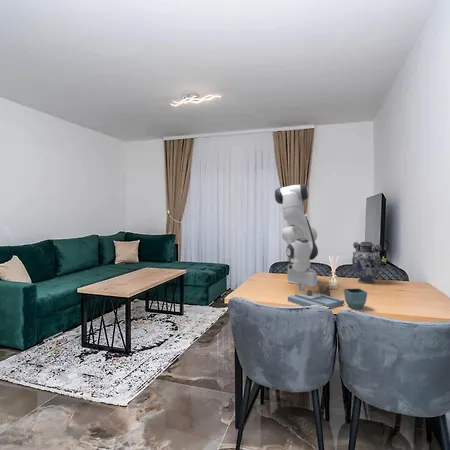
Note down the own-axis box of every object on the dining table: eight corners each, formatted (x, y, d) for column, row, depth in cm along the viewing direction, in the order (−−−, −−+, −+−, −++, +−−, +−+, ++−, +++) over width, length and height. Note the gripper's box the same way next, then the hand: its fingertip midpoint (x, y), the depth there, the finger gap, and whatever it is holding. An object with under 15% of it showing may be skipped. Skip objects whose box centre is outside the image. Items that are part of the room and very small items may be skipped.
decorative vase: (388, 282, 226) (388, 242, 225) (373, 286, 216) (373, 244, 214) (360, 277, 244) (360, 240, 242) (345, 281, 234) (345, 242, 232)
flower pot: (343, 305, 175) (343, 288, 174) (358, 304, 175) (359, 288, 175) (350, 310, 166) (351, 292, 166) (367, 309, 167) (367, 292, 166)
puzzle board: (312, 295, 193) (312, 290, 193) (343, 304, 175) (344, 298, 175) (287, 301, 182) (287, 295, 182) (318, 311, 164) (318, 304, 164)
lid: (309, 293, 188) (309, 287, 188) (321, 296, 181) (321, 291, 181) (298, 295, 183) (298, 290, 183) (310, 299, 176) (310, 293, 176)
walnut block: (323, 295, 195) (324, 285, 195) (330, 296, 191) (330, 286, 191) (318, 296, 193) (319, 286, 192) (325, 297, 189) (325, 287, 189)
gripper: (320, 269, 179) (319, 294, 180) (293, 264, 196) (292, 287, 197) (312, 270, 176) (312, 296, 176) (285, 265, 193) (285, 288, 193)
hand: (301, 291), depth 187 cm, fingers closed
